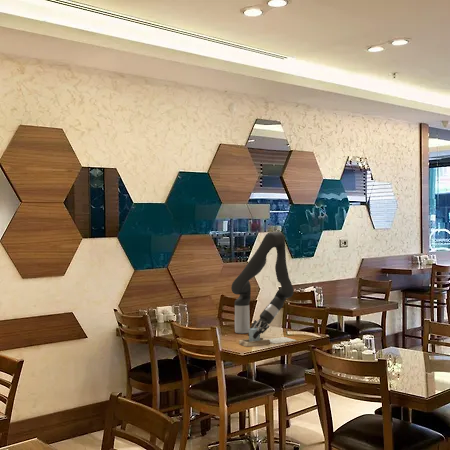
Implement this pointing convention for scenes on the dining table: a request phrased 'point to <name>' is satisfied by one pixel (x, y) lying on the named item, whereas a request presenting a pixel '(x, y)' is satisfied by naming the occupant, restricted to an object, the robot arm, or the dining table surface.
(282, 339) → the mat
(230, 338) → the dining table surface
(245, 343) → the shelf lane
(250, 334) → the slate block
